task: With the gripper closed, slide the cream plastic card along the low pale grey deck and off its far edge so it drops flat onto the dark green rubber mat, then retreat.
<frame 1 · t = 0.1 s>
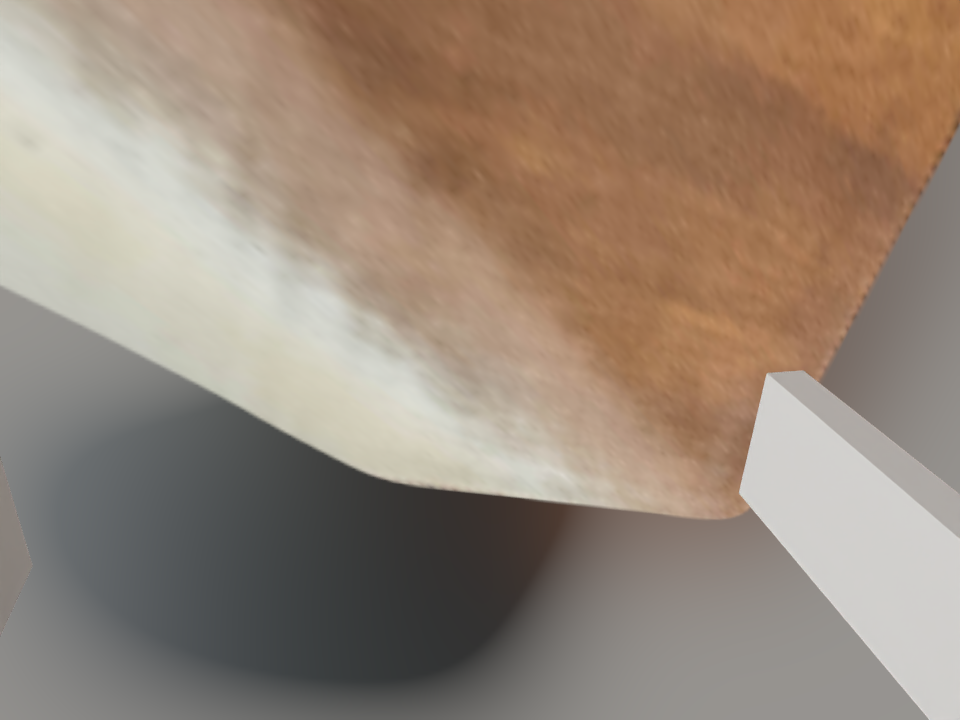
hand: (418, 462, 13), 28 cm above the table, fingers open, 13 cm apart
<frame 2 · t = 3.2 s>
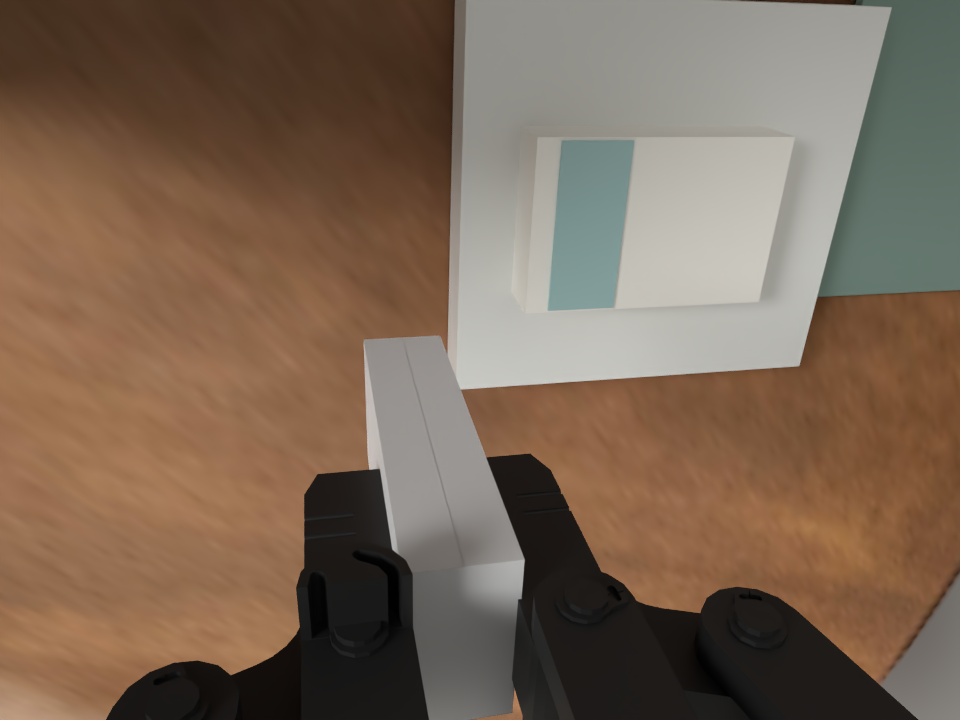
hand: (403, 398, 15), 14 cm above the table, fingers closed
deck: (639, 195, 30), on the table
card: (635, 210, 28), point 2 cm above the table, touching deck
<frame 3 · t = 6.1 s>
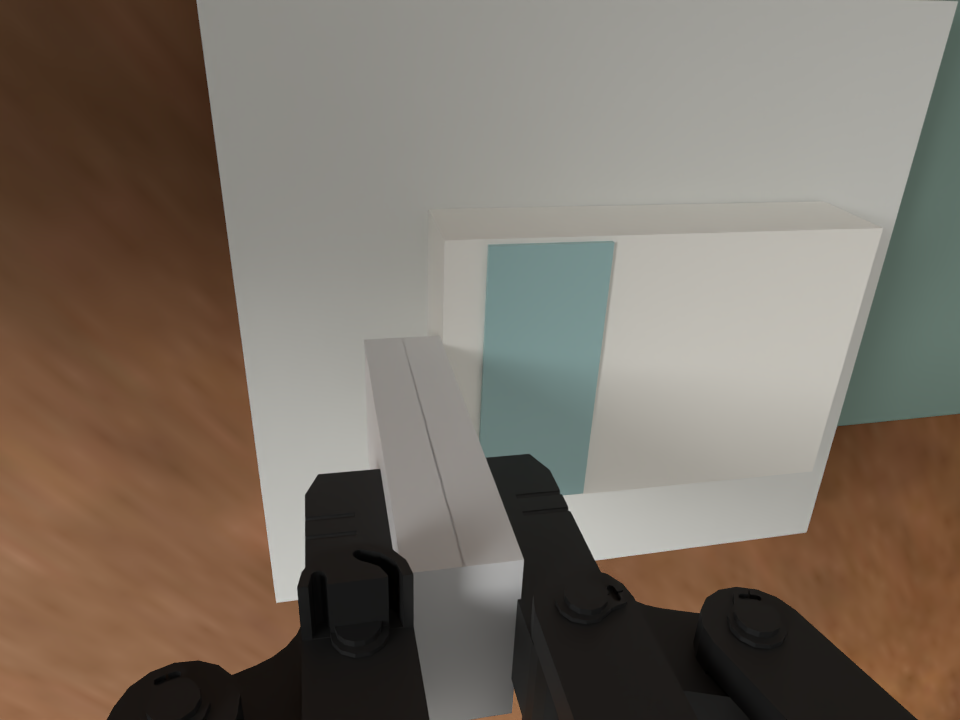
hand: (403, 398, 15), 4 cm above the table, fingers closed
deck: (557, 298, 19), on the table
card: (619, 332, 18), point 2 cm above the table
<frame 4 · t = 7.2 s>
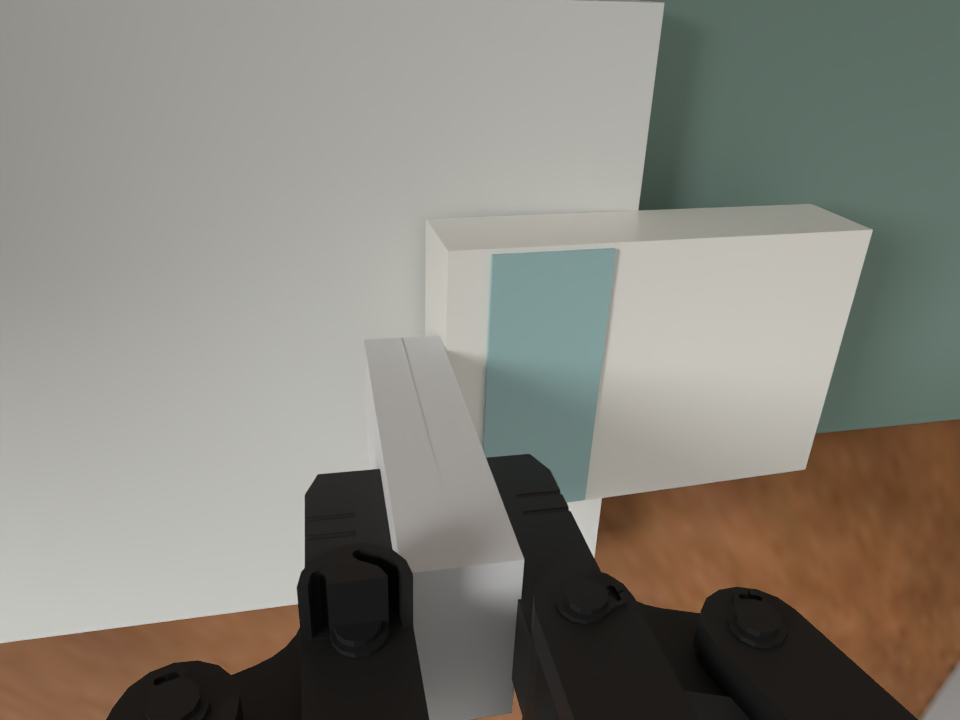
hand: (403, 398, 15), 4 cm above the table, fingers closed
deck: (292, 319, 18), on the table
card: (615, 337, 18), point 2 cm above the table, touching gripper
mat: (875, 197, 20), on the table
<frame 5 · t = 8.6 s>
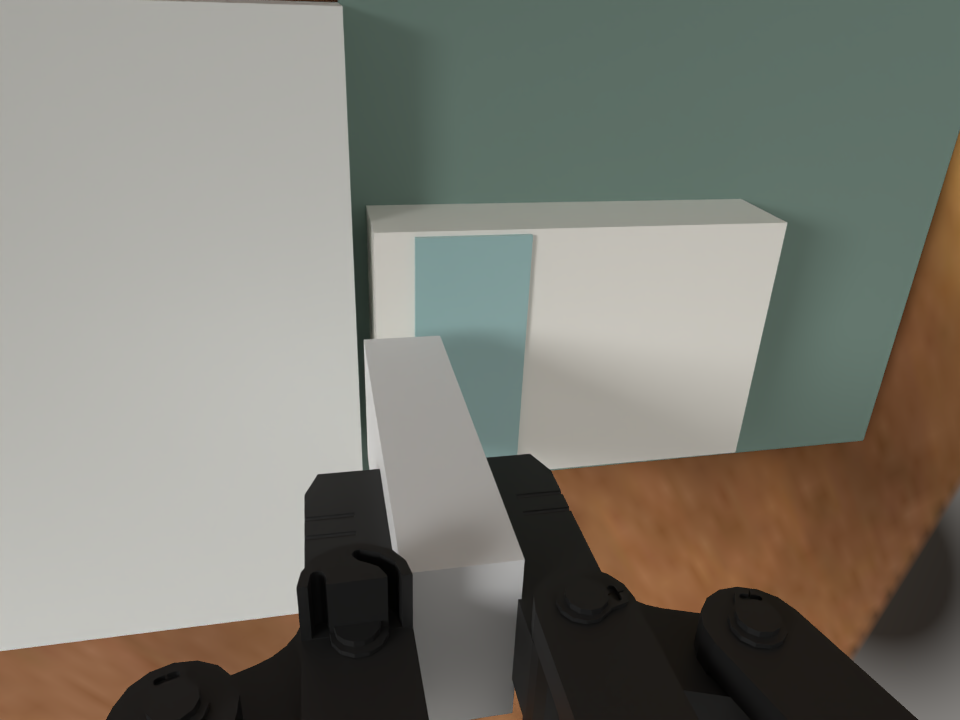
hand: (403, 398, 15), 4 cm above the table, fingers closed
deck: (7, 343, 17), on the table
card: (552, 321, 19), resting on mat
mat: (658, 215, 18), on the table
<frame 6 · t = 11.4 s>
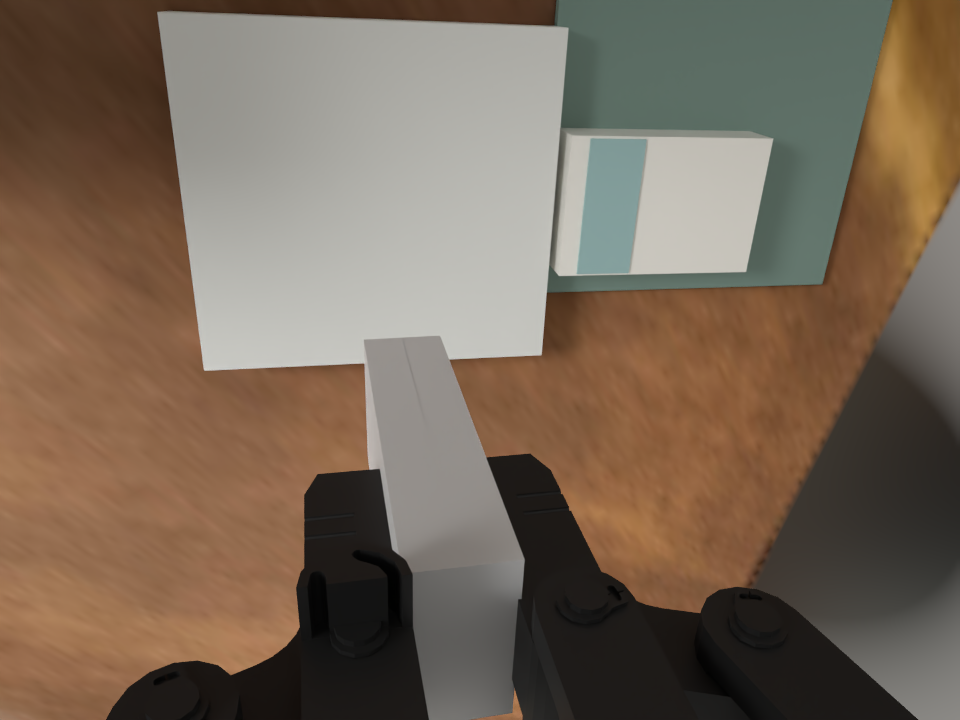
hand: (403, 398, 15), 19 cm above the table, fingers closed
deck: (373, 196, 33), on the table
card: (647, 197, 35), resting on mat
mat: (705, 140, 34), on the table
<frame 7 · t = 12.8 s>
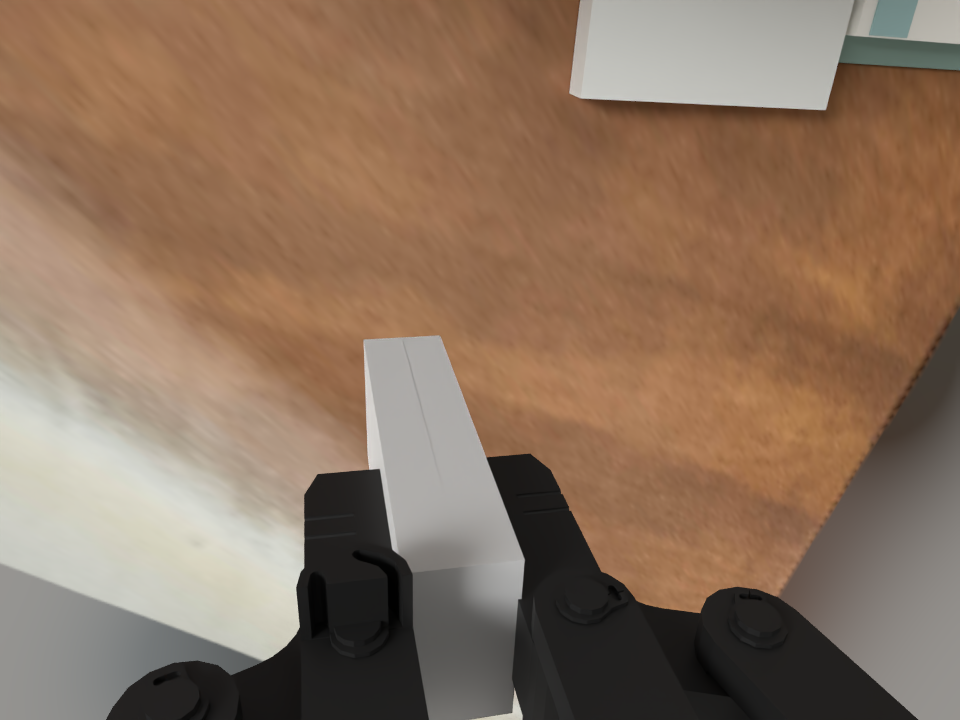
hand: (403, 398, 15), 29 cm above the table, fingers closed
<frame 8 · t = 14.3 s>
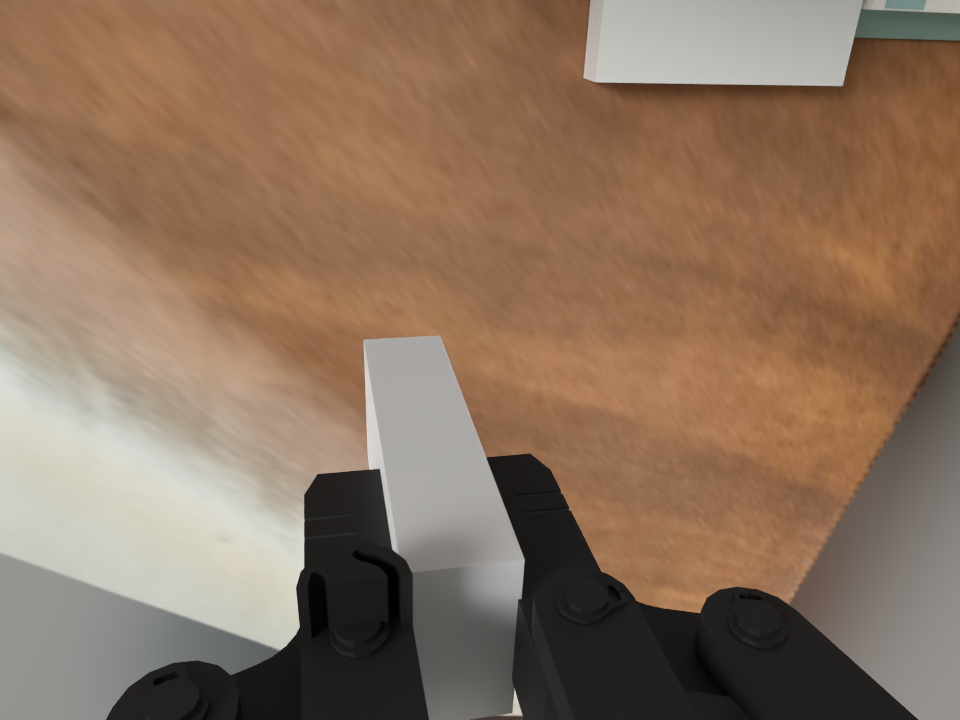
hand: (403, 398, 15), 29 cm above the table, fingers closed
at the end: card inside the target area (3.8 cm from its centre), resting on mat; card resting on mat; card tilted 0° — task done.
